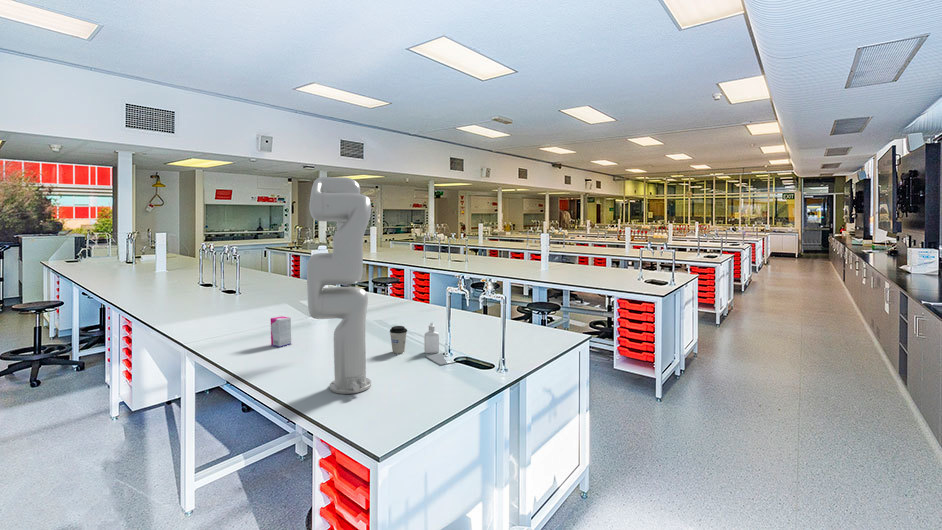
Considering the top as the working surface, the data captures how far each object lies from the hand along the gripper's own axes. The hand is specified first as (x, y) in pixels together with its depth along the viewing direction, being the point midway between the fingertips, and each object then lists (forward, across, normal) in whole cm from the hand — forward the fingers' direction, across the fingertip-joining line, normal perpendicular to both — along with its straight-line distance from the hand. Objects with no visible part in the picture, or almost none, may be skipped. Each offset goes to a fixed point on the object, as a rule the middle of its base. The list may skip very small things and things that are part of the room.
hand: (348, 278), depth 181 cm
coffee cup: (+29, +5, -20) cm, 35 cm away
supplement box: (+29, -8, +28) cm, 41 cm away
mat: (+28, +5, -40) cm, 50 cm away
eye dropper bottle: (+29, +10, -32) cm, 44 cm away
